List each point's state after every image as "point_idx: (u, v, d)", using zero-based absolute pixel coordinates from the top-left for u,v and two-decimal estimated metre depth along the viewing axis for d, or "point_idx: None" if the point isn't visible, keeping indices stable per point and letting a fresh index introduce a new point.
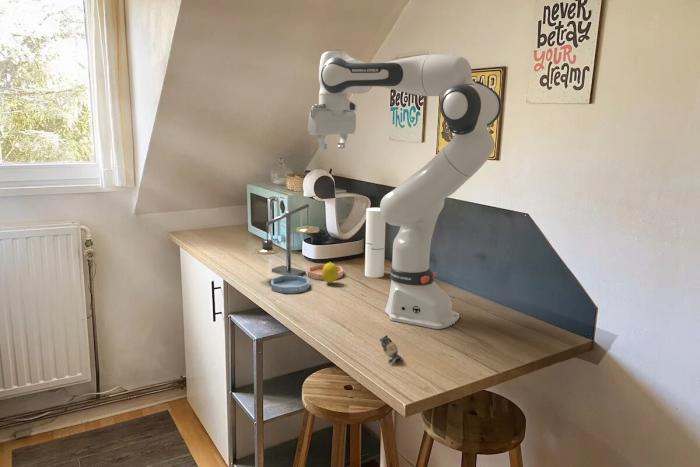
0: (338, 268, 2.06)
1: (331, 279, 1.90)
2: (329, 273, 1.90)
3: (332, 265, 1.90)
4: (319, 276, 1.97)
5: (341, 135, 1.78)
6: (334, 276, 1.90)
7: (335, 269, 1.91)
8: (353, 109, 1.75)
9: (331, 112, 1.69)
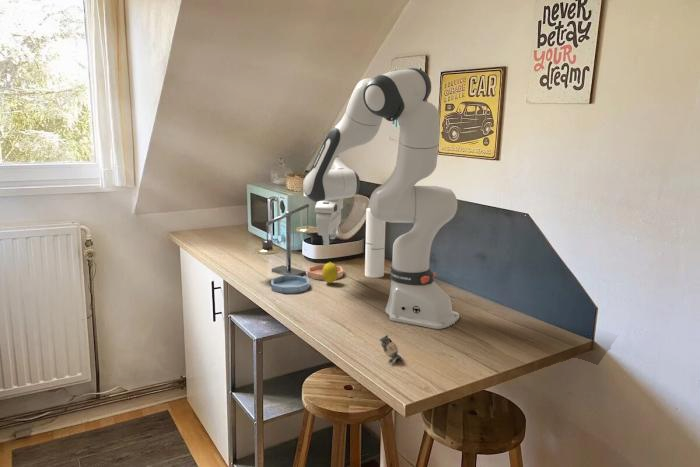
0: (338, 268, 2.06)
1: (331, 279, 1.90)
2: (329, 273, 1.90)
3: (332, 265, 1.90)
4: (319, 276, 1.97)
5: None
6: (334, 276, 1.90)
7: (335, 269, 1.91)
8: None
9: None
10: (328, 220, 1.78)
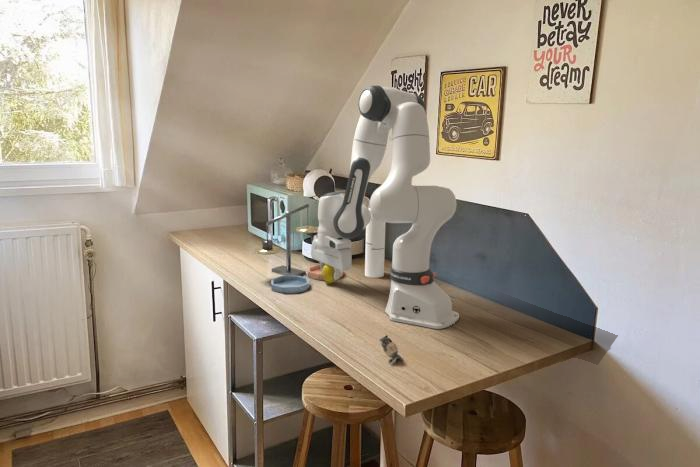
0: None
1: (331, 279, 1.90)
2: (329, 273, 1.90)
3: None
4: (319, 276, 1.97)
5: None
6: None
7: None
8: (333, 247, 1.83)
9: None
10: (350, 254, 1.84)
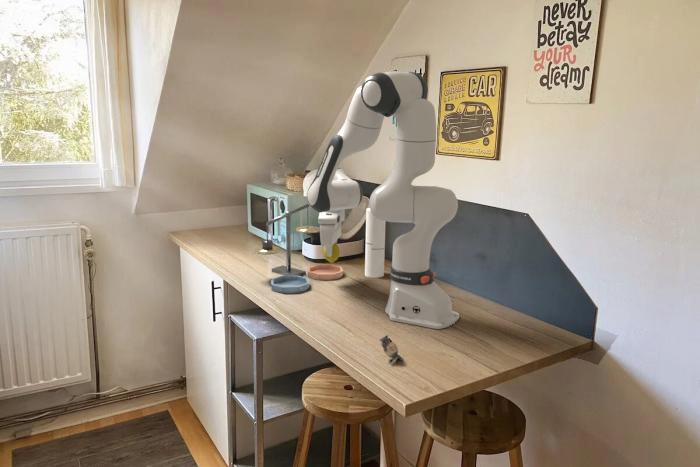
0: (338, 268, 2.06)
1: (327, 258, 1.89)
2: (325, 251, 1.88)
3: None
4: (319, 276, 1.97)
5: None
6: None
7: (332, 248, 1.88)
8: None
9: None
10: (332, 231, 1.79)
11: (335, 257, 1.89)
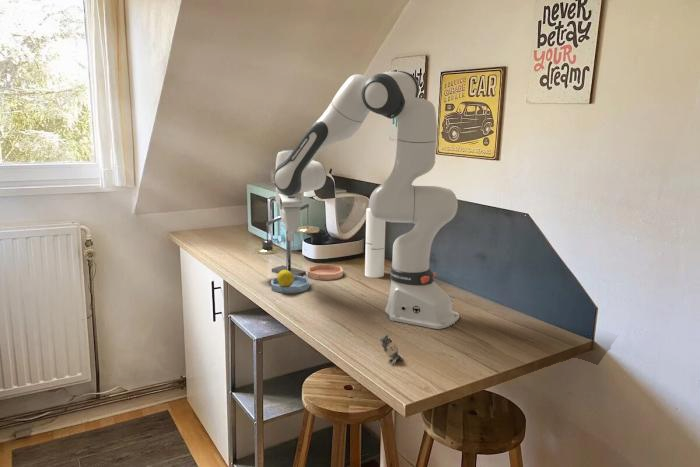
0: (338, 268, 2.06)
1: None
2: (282, 285, 1.82)
3: (285, 278, 1.80)
4: (319, 276, 1.97)
5: None
6: (288, 286, 1.83)
7: (288, 281, 1.81)
8: (281, 205, 1.75)
9: None
10: (298, 214, 1.74)
11: (292, 283, 1.84)
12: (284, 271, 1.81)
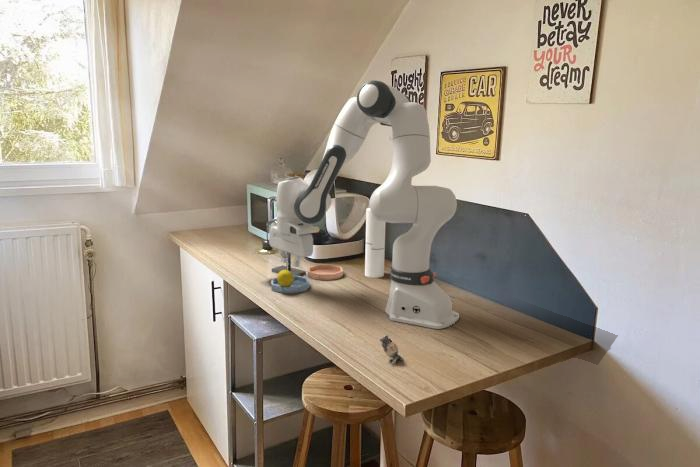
0: (338, 268, 2.06)
1: None
2: (282, 285, 1.82)
3: (285, 278, 1.80)
4: (319, 276, 1.97)
5: None
6: (288, 286, 1.83)
7: (288, 281, 1.81)
8: (294, 233, 1.77)
9: None
10: (312, 240, 1.79)
11: (292, 283, 1.84)
12: (284, 271, 1.81)
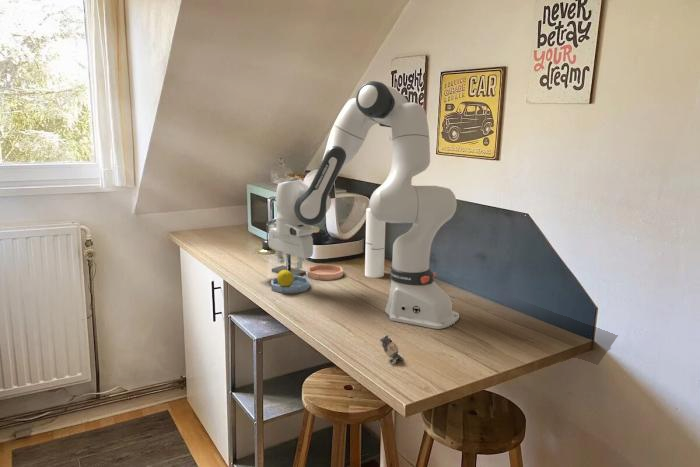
0: (338, 268, 2.06)
1: None
2: (282, 285, 1.82)
3: (285, 278, 1.80)
4: (319, 276, 1.97)
5: None
6: (288, 286, 1.83)
7: (288, 281, 1.81)
8: (294, 235, 1.77)
9: (280, 232, 1.85)
10: (312, 241, 1.79)
11: (292, 283, 1.84)
12: (284, 271, 1.81)
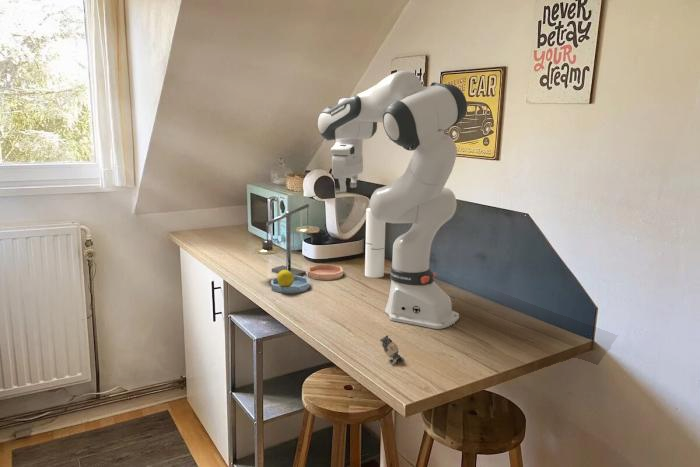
0: (338, 268, 2.06)
1: None
2: (282, 285, 1.82)
3: (285, 278, 1.80)
4: (319, 276, 1.97)
5: None
6: (288, 286, 1.83)
7: (288, 281, 1.81)
8: None
9: None
10: (343, 162, 1.72)
11: (292, 283, 1.84)
12: (284, 271, 1.81)
